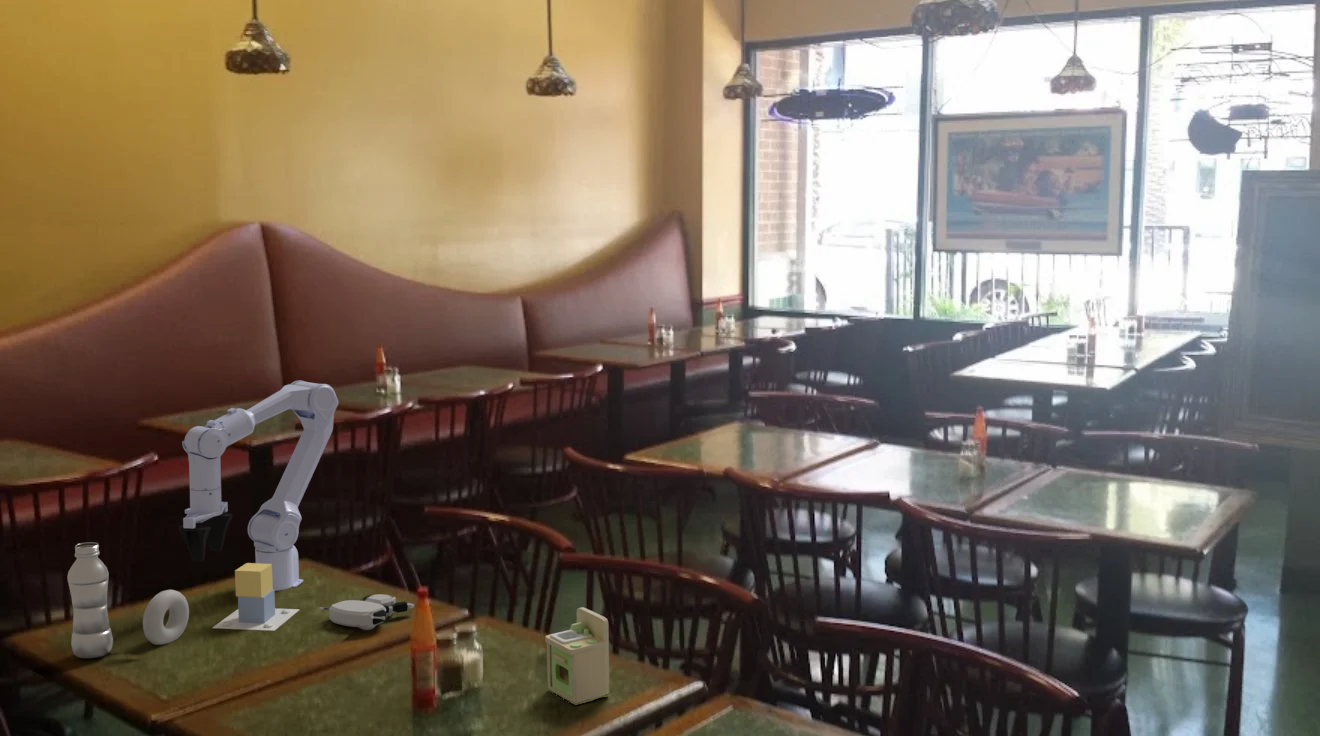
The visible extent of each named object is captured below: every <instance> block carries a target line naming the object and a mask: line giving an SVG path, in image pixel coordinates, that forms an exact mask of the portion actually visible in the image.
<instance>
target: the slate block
mask: <svg viewBox="0 0 1320 736" xmlns="http://www.w3.org/2000/svg"><path fill="white" fill-rule="evenodd" d="M275 592H276V591H274V589H272V590H271V591H270V592H268V593H267V594H266V595H264V596H263V597H238V596H237V607H238V608H237V609H238V612H239V622H242V623H266V622H267V621H268V620H269V619H270V618H272V617H273V616H274V615H275V608H276V602H275V601H276V598H275V594H276V593H275Z"/></svg>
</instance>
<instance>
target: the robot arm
mask: <svg viewBox="0 0 1320 736" xmlns="http://www.w3.org/2000/svg"><path fill="white" fill-rule="evenodd" d="M339 403H340V402H339V400H338V397H337V394H336V392H335V390H334V388H333V387H332V386H331V385H330V384H327V383H315V382H308V381H304V380H295V381H293V382H291V383H288V384H286V385H283V386H282V388H281V389H280V390H278V391H277V392H275V393H273V394H271V395H269V396H268V397H266V398H265V399H262V400H261V401H260V402H258V403H256V404H255V405H253V406H252V407H250V408H248V409H244V408H242V407H241V408H240V407H238V408H235V407H230V408H229V409H227V411H226V412H227V413H226V414H224V415H221V416H220V417H218V418H216V419H215V420H213V419H210V420H207V421H206V424H205V425H203V426H202V425H201V426H200V425H197V426H194V427H193V426H192V428H190V429H189V430H188V431H187V432H186V435H185V437H184V440H182V442H181V444H182V449H183V450H184V451H185V452H186V453H187V456H188V465H189V467H188V469H189V470H188V471H189V474H188V475H189V476H188V477H189V506H190V507H188V508H186V509H184V514H186V516H185V517H183V518H182V521H183V522H182V523H183V524H182V525H179V526H178V532H179V533H180V535H181V536H182V538H183V539H184V541H185V543H186V545H187V549H188V553H189V555H190V559H191V561H192V562H199V563H201V562H204V560H205V557H206V546H207V541H208V547H209V550H210V552H221V551H222V550H223V546H224V541H225V538H226V533H227V530H228V527H229V525H230V524H231V522H232V519H233V513H227V512H228V510H229V509H228V506H229V504H228V501H222V476H221V475H222V474H221V470H222V469H221V467H222V466H221V456H223V454H224V452H225V451H226V448H227V447H229V446H231V445H233V444H234V443H236V442H238V441H240V440H242V439H244V438H245V437H247V436H249V435H251V434H252V433H254V431H255V426H256V425H258V424H260V423H263V422H264V421H266V420H269V419H271V418H273V417H275V416H277V415H279V414H281V413H283V412H286V411H288V410H292V412H293V413H294V414H295V415H296V417H298V419H299V421H300V424H301V425H302V427H303V431H302V432H301V435H300V437H299V440H298V442H297V443H296V446H295V449H294V451H293V453H292V455H291V457H290V459H289V461H288V463H287V465H286V468H285V470H284V472H283V474H282V476H281V478H280V481H279V483H278V485H277V487H276V489H275V492H274V493H273V495H272V497H271V498H270V499H268V500H267V501H265V502H264V503H263V504H261V506H260V507H259V509H258V511H257V512H256V513H255V514H254V515H253V516H251V519H250V520H249V522H248V524H247V534H248V537H249V538H250V539H251V540H252V541H253V547H254V548H255V549H254V552H255V563H260V564H272V581H273V589H274V592H276V591H277V592H278V591H284V590H287V589H289V588H290V589H291V587H297V588H298V586H299V585H300V584H302V583H303V582H304V579H301V578H300V573H299V572H300V571H299V569H300V568H299V552H298V549H297V548H296V546H295V545H294V544H295V543H296V542H297V540H298V537H299V530H300V524H301V521H302V520H303V518H302V515H301V513H300V511H299V506H300V503H301V501H302V499H303V497H304V494H305V492H306V490H307V488H308V486H309V483H311V482H310V481H311V479H312V478H313V474H315V473H314V472H315V470H316V469H317V466H318V464H319V462H320V459H321V457H322V456H323V452H324V451H325V448H326V446H327V444H328V442H329V440H330V437H331V435H332V433H333V430H334V419H335V413H336V410H337V408H338V406H339ZM202 523H204V526H203V525H202Z"/></svg>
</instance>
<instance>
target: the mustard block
mask: <svg viewBox="0 0 1320 736" xmlns="http://www.w3.org/2000/svg"><path fill="white" fill-rule="evenodd" d="M234 578H235V579H234V581H235V583H234V584H235V597H237V598H238V597H263V596H264V595H266V594H267V593H268V592H270V591H271V590H272V589H273V581H272V564H260V563H256V562H253V563H252V562H246V563H244V564H243V565H242V566H240V567H238V568H237V569H235V570H234Z"/></svg>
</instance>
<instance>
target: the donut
mask: <svg viewBox="0 0 1320 736" xmlns="http://www.w3.org/2000/svg"><path fill="white" fill-rule="evenodd" d="M189 607H190V606H189V603H188V601H187V598H186V597H185V596H184V594H182V593H181V591H177V590H174V589H167V590H166V589H165V590H162V591H160V592H159V593H157V594H155V595H154V596H153V598H152V599H151V600H150V601H149V602H148V604H147V606H146V608H145V610H144V613H143V617H142V628H143V633H144V635H145V637H146V639H147V640H148V641H149V642H150V643H151V644H153V645H155V646H162V645H167V644H170V643H172V642H175V641H176V640H178V639H179V638H180V637H181V636H182V635H183V634H184V632H185V630H186V628H187V625H188V621H189V618H190V608H189ZM167 611H168V612H169V614H168V615H169V616H168V619H167V622H166V623H165V624H164V618H165V615H166V613H167Z"/></svg>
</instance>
